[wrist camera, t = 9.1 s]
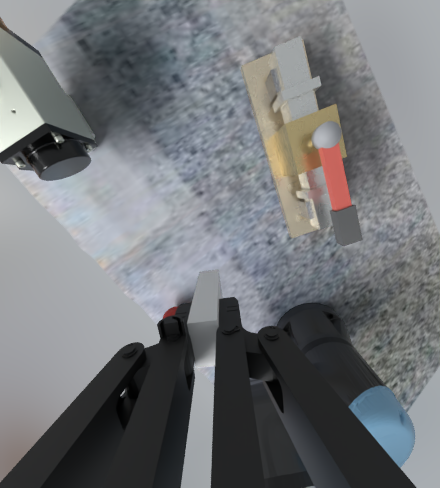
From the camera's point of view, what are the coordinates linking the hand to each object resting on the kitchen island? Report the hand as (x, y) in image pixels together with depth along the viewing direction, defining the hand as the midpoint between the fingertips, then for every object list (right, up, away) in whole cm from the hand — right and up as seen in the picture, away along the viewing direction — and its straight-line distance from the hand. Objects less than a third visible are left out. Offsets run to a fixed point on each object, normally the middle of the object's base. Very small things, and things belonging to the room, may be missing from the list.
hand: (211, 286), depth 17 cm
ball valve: (-25, +24, +21) cm, 40 cm away
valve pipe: (+14, +20, +22) cm, 33 cm away
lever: (+16, +11, +12) cm, 23 cm away
